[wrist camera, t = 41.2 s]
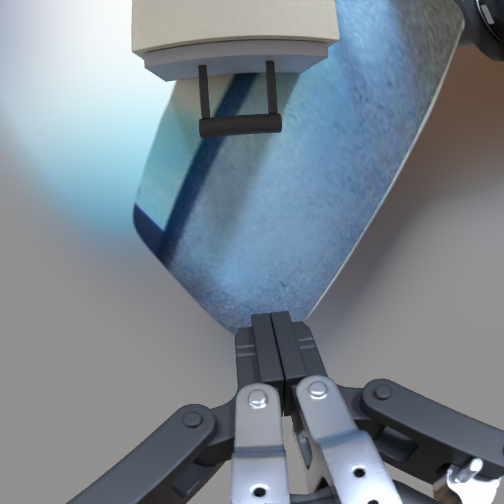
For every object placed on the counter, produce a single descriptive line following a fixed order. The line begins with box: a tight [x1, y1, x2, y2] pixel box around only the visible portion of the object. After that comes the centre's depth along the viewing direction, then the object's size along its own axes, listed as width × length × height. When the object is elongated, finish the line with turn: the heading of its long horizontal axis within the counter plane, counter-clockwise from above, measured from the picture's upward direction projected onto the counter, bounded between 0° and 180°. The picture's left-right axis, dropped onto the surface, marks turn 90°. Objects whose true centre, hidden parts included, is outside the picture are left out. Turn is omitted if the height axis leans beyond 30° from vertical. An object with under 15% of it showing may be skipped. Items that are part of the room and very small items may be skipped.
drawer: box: [144, 39, 328, 138], centre depth 17 cm, size 20×13×7 cm, turn 4°
